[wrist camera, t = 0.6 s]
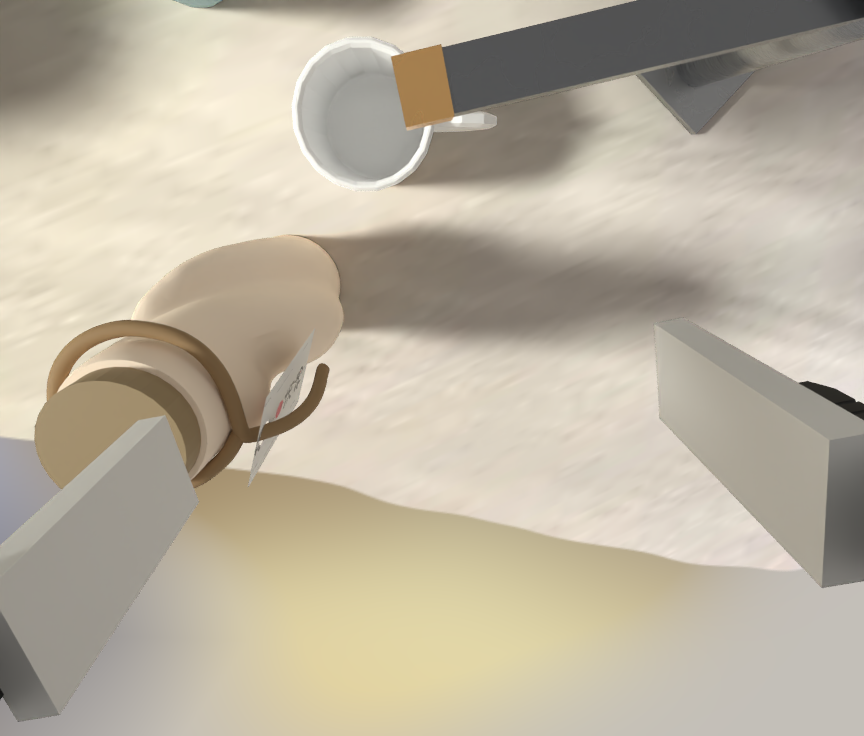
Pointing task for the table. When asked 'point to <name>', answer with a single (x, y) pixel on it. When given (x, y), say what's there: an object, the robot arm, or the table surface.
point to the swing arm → (597, 50)
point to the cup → (199, 3)
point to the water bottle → (200, 360)
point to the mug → (362, 117)
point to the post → (732, 73)
